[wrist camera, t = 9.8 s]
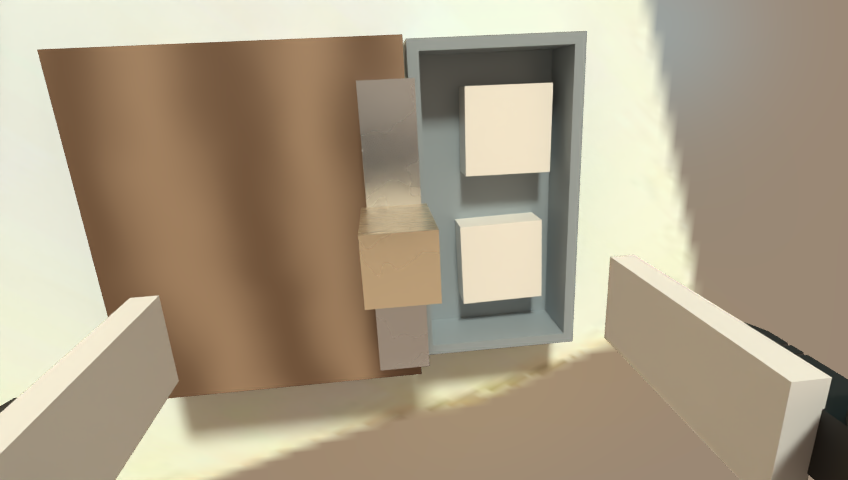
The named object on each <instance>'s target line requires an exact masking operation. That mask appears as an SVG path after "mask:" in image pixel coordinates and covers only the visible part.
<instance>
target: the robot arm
mask: <svg viewBox="0 0 848 480" xmlns="http://www.w3.org/2000/svg"><path fill="white" fill-rule="evenodd" d="M604 338H605V339H606V340H607V341H608V342H609V343H610V344H611V345H612V346H613V347H614V348H615V349H616V350H617V351H618V352H619V353H620V355H622V357H623V358H624V359H625V360H626V361H627V362H628V363H629V364H630V365H631V366H632V367H633V368H634V369H635V370H636V371H637V372H638V373H639V375H640V376H641V377H642V378H643V379H644V380H645V381H646V382H647V383H648V384H649V385H650V386H651V387H652V388H653V389H654V390H655V391H656V392H657V393H658V394H659V396H660V397H661V398H662V399H663V400H664V401H665V402H666V403H667V404H668V405H669V406H670V407H671V408H672V409H673V410H674V411H675V412H676V413H677V414H678V415H679V417H680V418H682V420H683V421H684V422H685V423H686V424H687V425H688V426H689V427H690V428H691V429H692V430H693V431H694V432H695V433H696V434H697V435H698V436H699V438H700V439H701V440H702V441H703V442H704V443H705V444H706V445H707V446H708V447H709V448H710V449H711V450H712V451H713V452H714V453H715V454H716V455H717V456H718V457H719V459H720V460H721V461H722V462H723V463H724V464H725V465H726V466H727V467H728V468H729V469H730V470H731V471H732V472H733V473H734V474H735V475H736V476H737V477H738V478H739V480H808V476H809V475H810V476H811V477H812V478H813V479H814V480H848V379H846V378H844V377H843V376H841V375H840V374H838V373H836V372H835V371H833V370H831V369H830V368H828V367H827V366H825V365H823V364H821V363H820V362H818V361H817V360H815V359H813V358H812V357H810V356H808V355H804V354H803V352H802V351H800V350H798V349H797V348H795V347H793V346H792V345H790V346H788V344H787V342H785V341H783V340H782V339H780V338H779V337H777V336H775V335H774V334H772V333H770V332H769V331H766V330H763V329H761V328H758V327H756V326H753V325H750V324H748V323H745V322H742V321H740V320H739V319H737V318H735V317H734V316H732V315H730V314H729V313H727V312H725V311H724V310H722V309H721V308H719V307H718V306H716V305H715V304H713V303H711V302H710V301H708V300H706V299H705V298H703V297H702V296H700V295H698V294H697V293H695V292H694V291H692V290H690V289H689V288H687V287H686V286H684V285H682V284H681V283H679V282H678V281H676V280H674V279H673V278H671V277H670V276H668V275H666V274H665V273H663V272H661V271H660V270H658V269H657V268H655V267H653V266H652V265H650V264H649V263H647V262H645V261H644V260H642V259H641V258H639V257H637V256H636V255H624V256H612V257H610V267H609V281H608V295H607V309H606V322H605V336H604ZM178 381H179V380H178V376H177V371H176V367H175V363H174V358H173V354H172V350H171V345H170V341H169V337H168V332H167V328H166V324H165V319H164V315H163V311H162V307H161V302H160V298H159V295H158V296H146V297H135V298H129V299H128V300H127V301H126V302H125V303H124V304H123V305H122V306H120V307H119V308H118V309H117V310H116V311H115V312H114V313H112V314H111V315H110V316H109V317H108V318H107V319H106V320H105V321H103V322H102V323H101V324H100V325H99V326H98V327H97V328H96V329H94V330H93V331H92V332H91V333H90V334H89V335H88V336H87V337H85V338H84V339H83V340H82V341H81V342H80V343H79V344H78V345H76V346H75V347H74V348H73V349H72V350H71V351H70V352H69V353H67V354H66V355H65V356H64V357H63V358H62V359H61V360H59V361H58V362H57V363H56V364H55V365H54V366H53V367H52V368H50V369H49V370H48V371H47V372H46V373H45V374H44V375H43V376H41V377H40V378H39V379H38V380H37V381H36V382H35V383H34V384H32V385H31V386H30V387H29V388H28V389H27V390H26V391H25V392H23V393H22V394H21V395H20V396H19V397H18V398H13V399H12V400H10V401H8V402H7V403H5V404H3V405H1V406H0V480H116V478H117V477H118V475H119V473H120V472H121V470H122V469H123V467H124V466H125V464H126V462H127V461H128V459H129V458H130V456H131V455H132V453H133V452H134V450H135V448H136V447H137V445H138V444H139V442H140V441H141V439H142V438H143V436H144V434H145V433H146V431H147V430H148V428H149V427H150V425H151V424H152V422H153V420H154V419H155V417H156V416H157V414H158V413H159V411H160V409H161V408H162V406H163V405H164V403H165V402H166V400H167V399H168V397H169V395H170V394H171V392H172V391H173V389H174V388H175V386H176V385H177V383H178Z"/></svg>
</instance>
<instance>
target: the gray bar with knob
mask: <svg viewBox="0 0 848 480" xmlns="http://www.w3.org/2000/svg"><path fill="white" fill-rule="evenodd" d="M356 88H357V100H358V112H359V123H360V135H361V147H362V158H363V170H364V182H365V194H366V205H367V207H366V208H361V214H360V222H359V231H358V241H359V252H360V263H361V274H362V285H363V295H364V306H365V310H371V309H375V311H376V322H377V334H378V346H379V358H380V369H381V370H391V369H402V368H412V367H423V366H429V346H428V327H427V307H426V305H429V304H441V303H442V293H441V268H440V244H439V229H438V227H437V224H436V222H435V220H434V218H433V216H432V214H431V212H430V210H429V207H428V205H427V203H424V204H421V190H420V170H419V151H418V131H417V112H416V92H415V78H401V79H381V80H360V81H356Z"/></svg>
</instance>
